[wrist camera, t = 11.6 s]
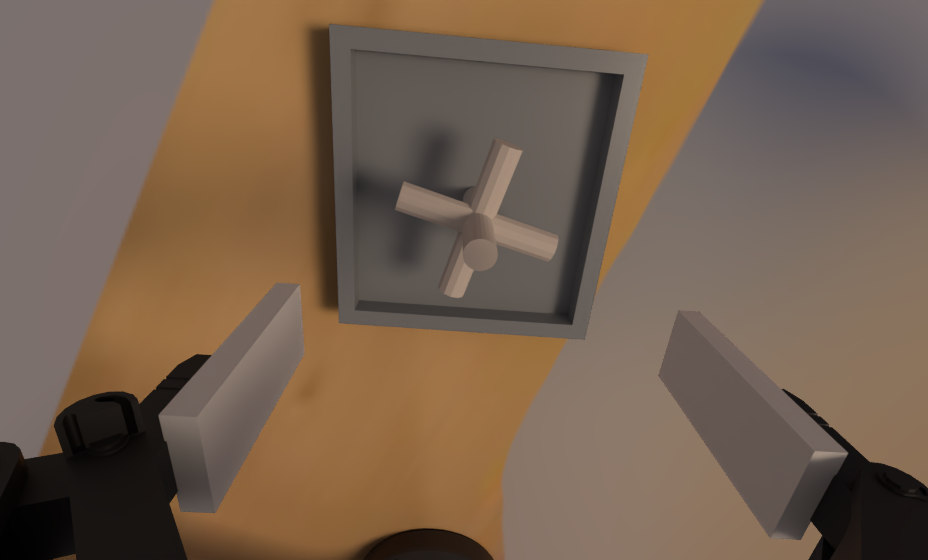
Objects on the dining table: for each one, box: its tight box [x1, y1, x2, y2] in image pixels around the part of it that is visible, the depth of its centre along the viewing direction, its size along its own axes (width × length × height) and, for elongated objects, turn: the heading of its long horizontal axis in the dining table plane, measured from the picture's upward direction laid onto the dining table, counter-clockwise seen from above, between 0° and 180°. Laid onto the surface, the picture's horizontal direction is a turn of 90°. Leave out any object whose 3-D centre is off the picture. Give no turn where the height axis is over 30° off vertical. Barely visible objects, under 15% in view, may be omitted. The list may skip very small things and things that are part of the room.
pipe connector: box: [395, 138, 558, 298], centre depth 28 cm, size 10×10×10 cm
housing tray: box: [329, 24, 648, 340], centre depth 32 cm, size 20×19×2 cm
